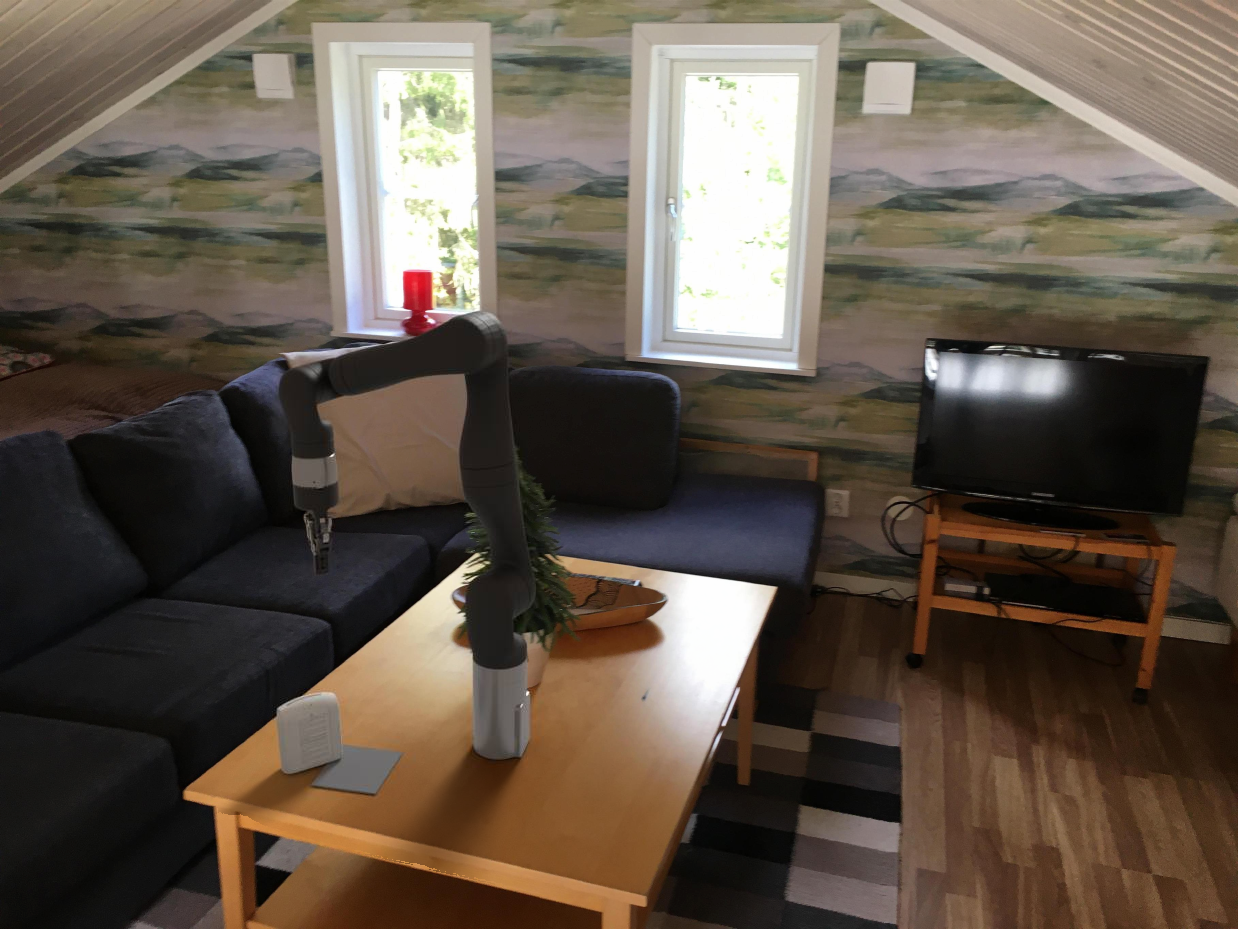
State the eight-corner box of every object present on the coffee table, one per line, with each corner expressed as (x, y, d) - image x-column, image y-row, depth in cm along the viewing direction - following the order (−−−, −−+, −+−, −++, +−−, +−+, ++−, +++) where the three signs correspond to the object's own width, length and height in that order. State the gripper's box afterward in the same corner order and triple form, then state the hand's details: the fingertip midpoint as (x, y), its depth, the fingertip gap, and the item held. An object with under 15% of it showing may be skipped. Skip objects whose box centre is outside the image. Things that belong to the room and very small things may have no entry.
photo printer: (338, 747, 176) (332, 682, 173) (347, 758, 173) (340, 693, 169) (278, 766, 171) (270, 700, 167) (285, 778, 168) (278, 711, 164)
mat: (402, 753, 176) (402, 752, 176) (375, 795, 164) (375, 793, 164) (342, 745, 177) (342, 744, 177) (311, 786, 166) (311, 784, 166)
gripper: (285, 471, 180) (292, 563, 185) (300, 492, 169) (307, 589, 174) (328, 466, 184) (334, 557, 189) (346, 486, 173) (351, 582, 177)
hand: (321, 572), depth 181 cm, fingers closed
